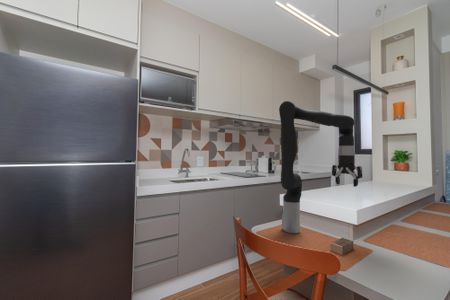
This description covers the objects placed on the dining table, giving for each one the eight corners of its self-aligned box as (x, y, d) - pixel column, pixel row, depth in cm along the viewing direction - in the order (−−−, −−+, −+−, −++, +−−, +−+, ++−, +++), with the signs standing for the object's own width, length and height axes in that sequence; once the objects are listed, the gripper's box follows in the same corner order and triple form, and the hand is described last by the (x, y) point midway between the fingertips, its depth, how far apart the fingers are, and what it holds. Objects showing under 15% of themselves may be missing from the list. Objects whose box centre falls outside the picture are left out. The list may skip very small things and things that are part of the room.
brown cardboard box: (342, 244, 102) (330, 250, 95) (342, 237, 102) (330, 243, 95) (353, 248, 97) (341, 255, 91) (353, 241, 97) (341, 247, 91)
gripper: (329, 154, 113) (329, 184, 112) (357, 154, 101) (358, 187, 101) (336, 154, 117) (336, 183, 117) (364, 154, 105) (364, 186, 105)
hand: (346, 185), depth 109 cm, fingers open, 8 cm apart
